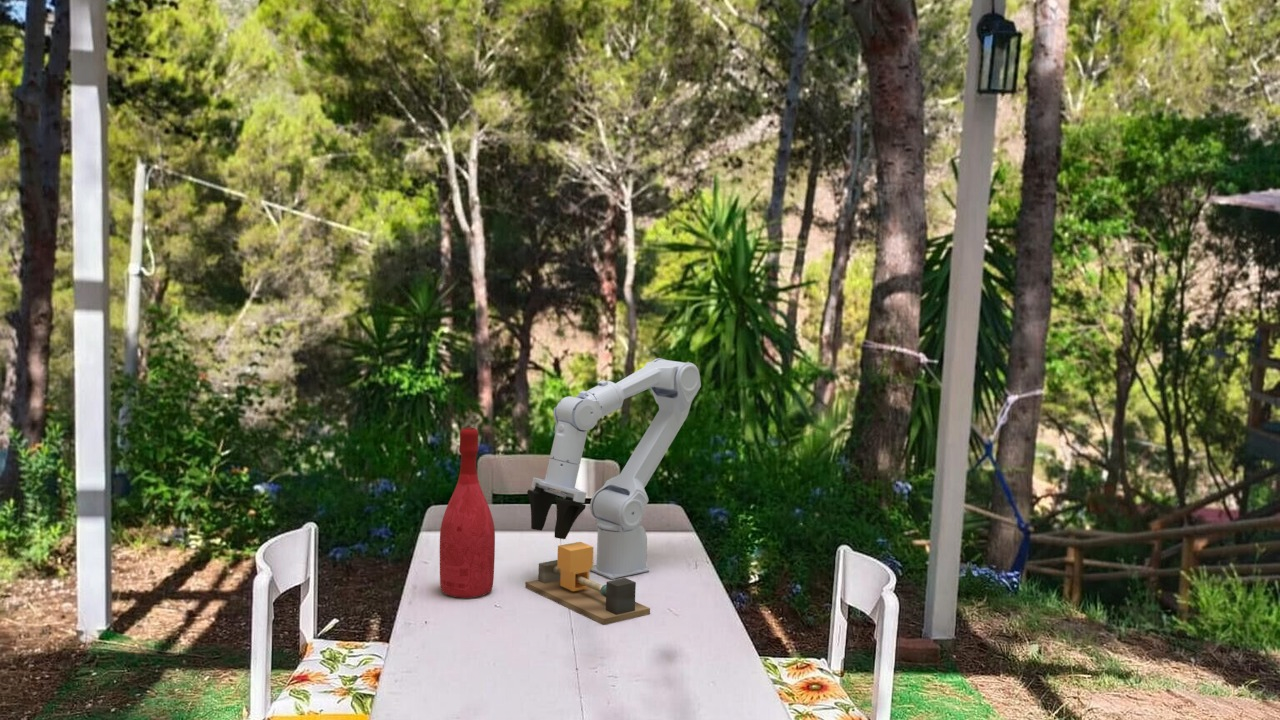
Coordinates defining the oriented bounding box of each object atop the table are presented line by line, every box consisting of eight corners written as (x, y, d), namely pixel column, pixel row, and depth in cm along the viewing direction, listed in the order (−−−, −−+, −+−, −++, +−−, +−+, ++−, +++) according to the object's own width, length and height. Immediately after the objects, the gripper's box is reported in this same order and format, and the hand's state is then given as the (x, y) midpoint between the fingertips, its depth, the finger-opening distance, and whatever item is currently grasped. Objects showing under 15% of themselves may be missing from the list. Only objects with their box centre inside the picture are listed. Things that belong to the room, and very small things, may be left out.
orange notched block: (556, 586, 202) (557, 545, 201) (579, 581, 205) (580, 541, 205) (569, 592, 199) (570, 550, 198) (592, 587, 202) (593, 546, 201)
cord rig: (525, 587, 206) (526, 555, 205) (569, 578, 212) (570, 547, 211) (603, 624, 187) (604, 590, 187) (650, 613, 194) (651, 580, 193)
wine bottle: (503, 587, 206) (506, 426, 202) (478, 603, 196) (481, 434, 193) (455, 580, 209) (457, 421, 206) (429, 595, 200) (430, 429, 196)
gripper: (525, 451, 209) (508, 523, 209) (570, 464, 198) (553, 539, 197) (555, 457, 214) (539, 527, 213) (601, 470, 203) (584, 544, 202)
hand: (548, 534), depth 205 cm, fingers open, 7 cm apart
